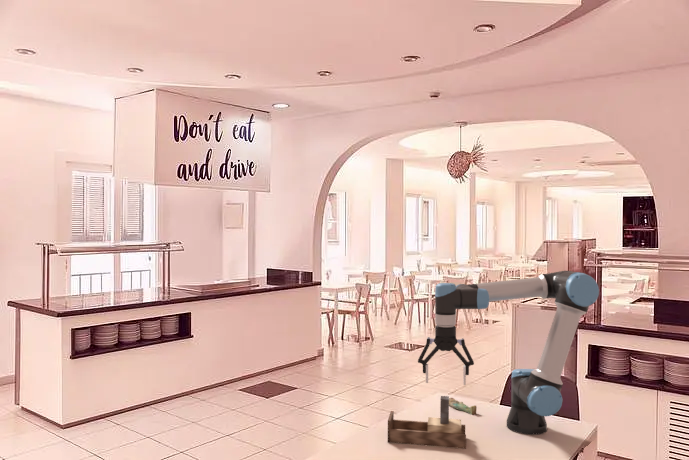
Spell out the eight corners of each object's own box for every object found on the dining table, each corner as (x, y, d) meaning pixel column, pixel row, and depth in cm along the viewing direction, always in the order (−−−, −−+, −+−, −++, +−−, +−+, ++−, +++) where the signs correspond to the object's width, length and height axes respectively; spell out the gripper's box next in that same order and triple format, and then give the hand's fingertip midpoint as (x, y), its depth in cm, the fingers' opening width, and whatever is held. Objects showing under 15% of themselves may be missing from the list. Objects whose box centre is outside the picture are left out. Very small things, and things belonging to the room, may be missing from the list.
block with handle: (461, 435, 209) (461, 395, 209) (461, 443, 201) (461, 402, 201) (428, 433, 211) (428, 393, 211) (427, 441, 203) (427, 399, 203)
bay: (465, 437, 210) (465, 416, 210) (465, 448, 199) (466, 426, 199) (390, 431, 215) (391, 410, 215) (387, 442, 204) (387, 420, 204)
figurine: (466, 416, 235) (467, 407, 235) (445, 405, 248) (445, 397, 248) (477, 414, 237) (477, 405, 237) (455, 404, 251) (455, 395, 251)
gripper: (479, 324, 207) (480, 381, 207) (412, 322, 212) (412, 378, 212) (480, 328, 200) (481, 387, 200) (410, 326, 204) (410, 384, 205)
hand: (445, 383), depth 206 cm, fingers open, 13 cm apart
